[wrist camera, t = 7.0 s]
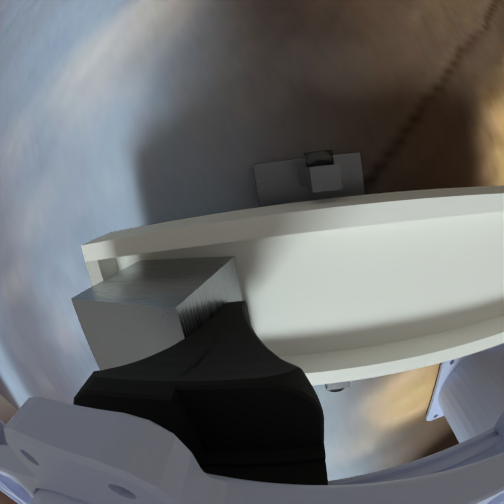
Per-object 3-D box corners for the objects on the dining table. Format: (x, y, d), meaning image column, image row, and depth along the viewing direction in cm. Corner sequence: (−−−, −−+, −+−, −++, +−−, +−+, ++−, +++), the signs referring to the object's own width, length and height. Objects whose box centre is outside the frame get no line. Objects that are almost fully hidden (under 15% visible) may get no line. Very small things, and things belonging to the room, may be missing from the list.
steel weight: (234, 256, 12) (176, 307, 8) (252, 358, 13) (214, 428, 9) (139, 260, 13) (71, 298, 9) (165, 348, 15) (115, 399, 11)
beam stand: (355, 151, 16) (392, 145, 10) (366, 335, 19) (390, 385, 14) (253, 163, 16) (245, 160, 11) (281, 348, 19) (283, 404, 14)
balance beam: (508, 185, 11) (538, 191, 8) (496, 316, 13) (518, 337, 10) (111, 232, 15) (81, 245, 12) (149, 357, 17) (131, 383, 14)
